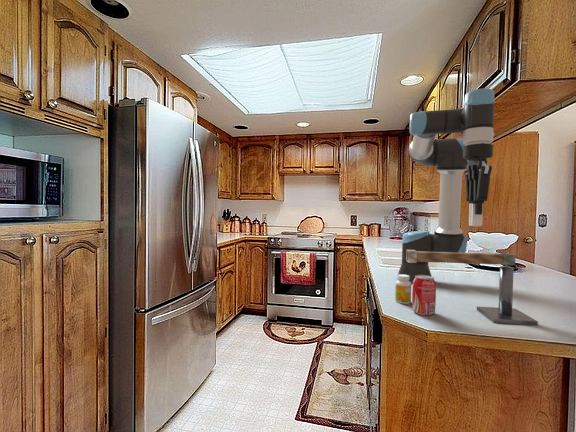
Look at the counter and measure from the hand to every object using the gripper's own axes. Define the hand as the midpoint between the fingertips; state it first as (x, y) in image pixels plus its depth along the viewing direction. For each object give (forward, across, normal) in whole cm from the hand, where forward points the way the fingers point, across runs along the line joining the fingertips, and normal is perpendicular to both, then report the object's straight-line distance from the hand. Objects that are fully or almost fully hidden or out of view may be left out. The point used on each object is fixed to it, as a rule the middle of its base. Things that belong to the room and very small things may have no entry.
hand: (475, 225), depth 94 cm
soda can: (+30, +8, +12) cm, 33 cm away
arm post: (+29, +9, -13) cm, 33 cm away
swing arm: (+13, +9, +1) cm, 16 cm away
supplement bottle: (+30, +20, +16) cm, 39 cm away
